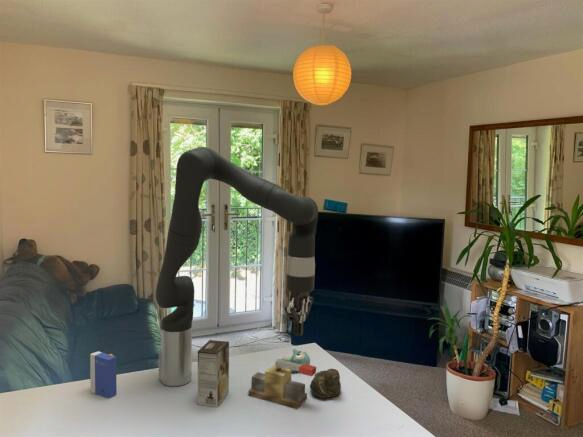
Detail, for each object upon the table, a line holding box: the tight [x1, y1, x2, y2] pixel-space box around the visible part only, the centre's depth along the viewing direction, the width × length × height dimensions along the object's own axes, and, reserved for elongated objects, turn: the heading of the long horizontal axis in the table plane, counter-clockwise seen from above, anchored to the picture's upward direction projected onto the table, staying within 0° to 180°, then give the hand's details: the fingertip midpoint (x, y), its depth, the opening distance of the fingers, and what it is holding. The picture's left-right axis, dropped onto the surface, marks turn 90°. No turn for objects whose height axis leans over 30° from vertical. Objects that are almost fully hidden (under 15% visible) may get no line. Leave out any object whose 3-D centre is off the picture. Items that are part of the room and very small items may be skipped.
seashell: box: [309, 368, 342, 399], centre depth 136 cm, size 11×12×10 cm
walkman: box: [89, 351, 117, 399], centre depth 131 cm, size 8×3×12 cm, turn 63°
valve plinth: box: [247, 364, 308, 410], centre depth 132 cm, size 16×7×8 cm, turn 65°
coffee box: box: [197, 339, 230, 408], centre depth 130 cm, size 9×6×16 cm
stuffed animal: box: [276, 348, 311, 374], centre depth 153 cm, size 11×7×12 cm
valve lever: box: [274, 358, 317, 377], centre depth 129 cm, size 12×3×3 cm, turn 63°
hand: (298, 335), depth 120 cm, fingers closed
